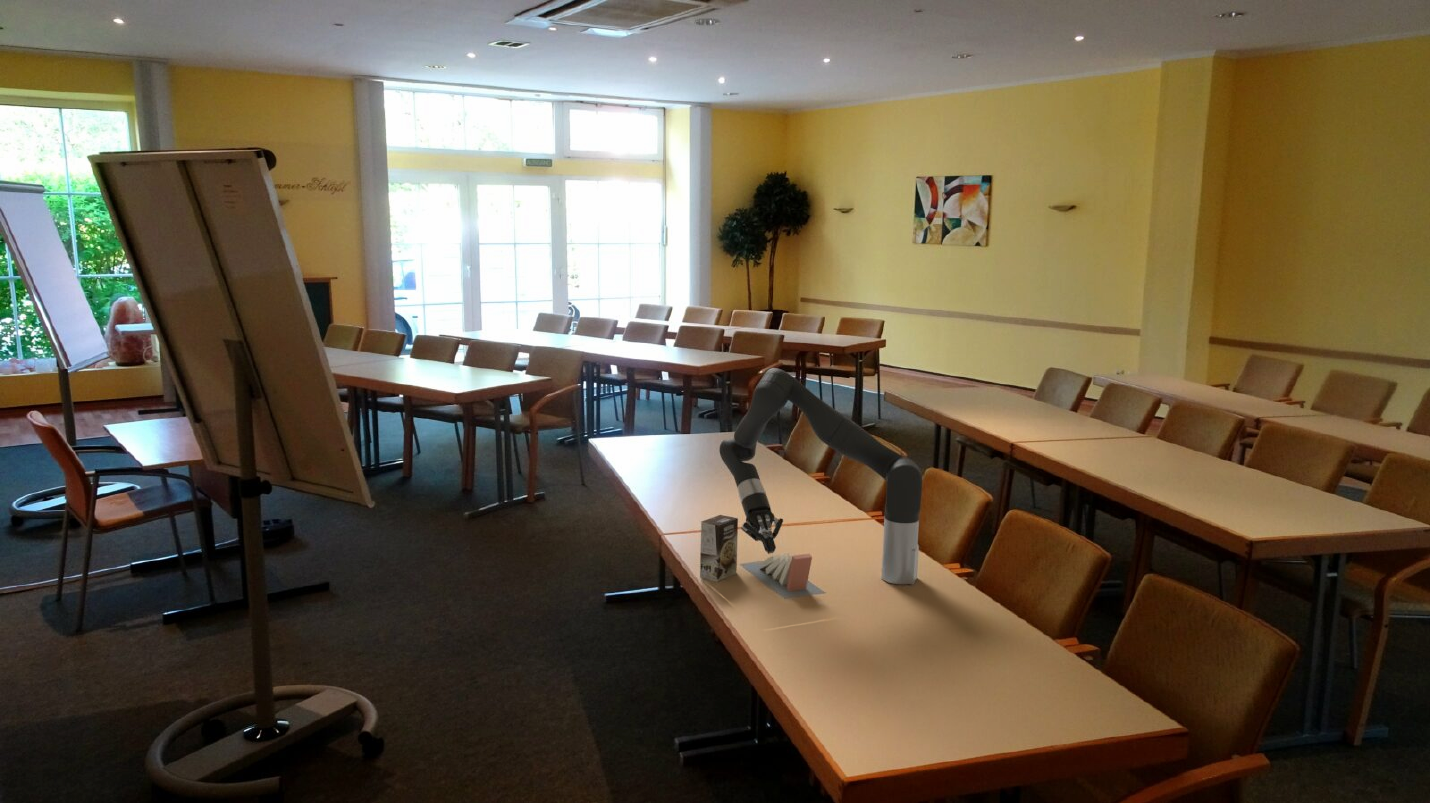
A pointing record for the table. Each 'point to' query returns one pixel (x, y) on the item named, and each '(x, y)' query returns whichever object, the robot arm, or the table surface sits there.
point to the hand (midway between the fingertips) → (771, 551)
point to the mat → (776, 585)
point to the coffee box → (718, 547)
